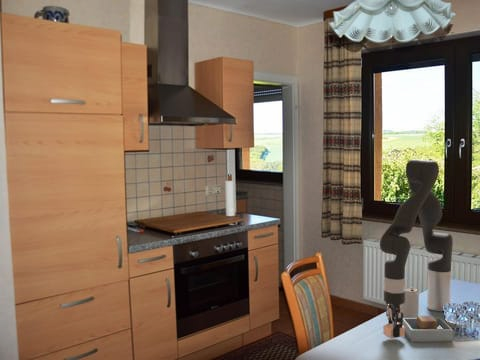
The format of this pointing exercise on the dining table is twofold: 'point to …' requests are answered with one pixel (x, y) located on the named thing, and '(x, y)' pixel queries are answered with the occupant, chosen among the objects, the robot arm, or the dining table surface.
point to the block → (426, 323)
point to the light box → (389, 331)
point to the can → (410, 303)
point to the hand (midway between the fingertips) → (393, 333)
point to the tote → (427, 331)
